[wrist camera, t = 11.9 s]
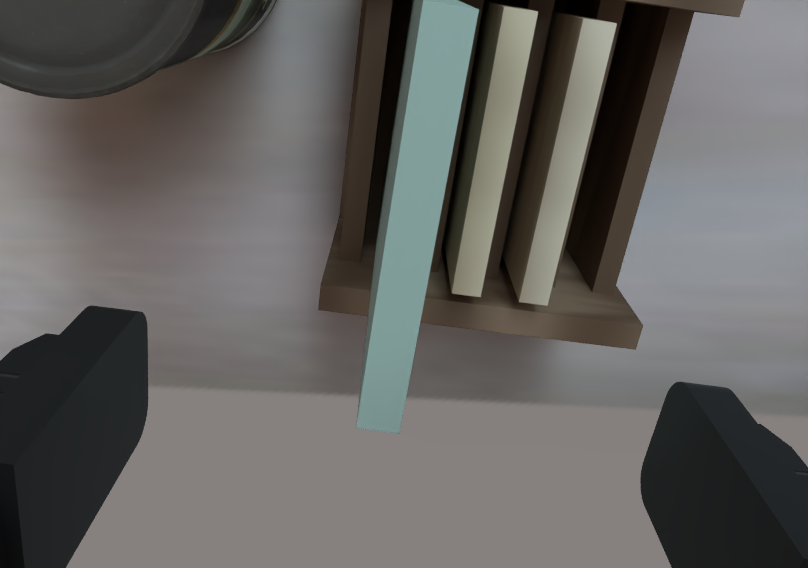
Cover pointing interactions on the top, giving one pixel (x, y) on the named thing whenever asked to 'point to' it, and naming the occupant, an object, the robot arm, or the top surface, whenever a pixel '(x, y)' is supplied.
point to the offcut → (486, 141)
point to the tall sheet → (413, 200)
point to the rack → (595, 194)
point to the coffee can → (113, 40)
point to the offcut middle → (555, 150)
